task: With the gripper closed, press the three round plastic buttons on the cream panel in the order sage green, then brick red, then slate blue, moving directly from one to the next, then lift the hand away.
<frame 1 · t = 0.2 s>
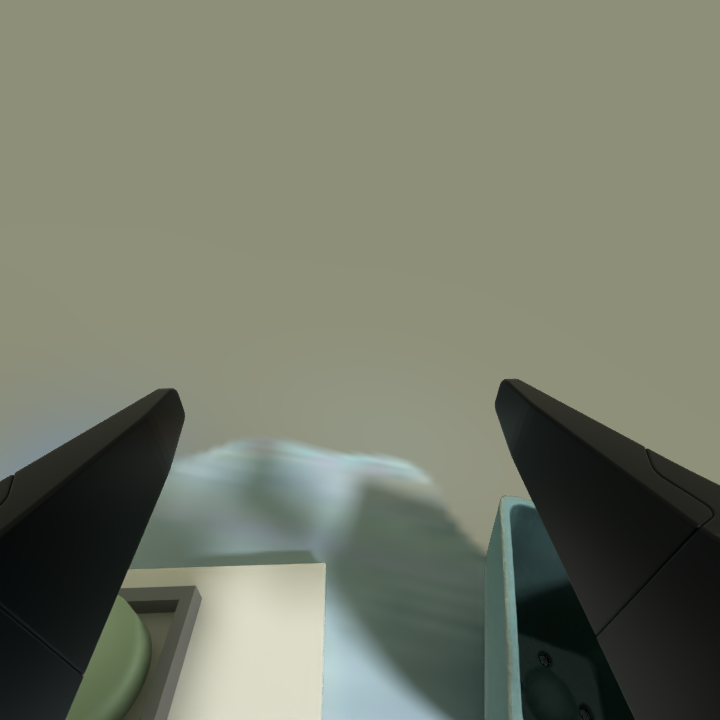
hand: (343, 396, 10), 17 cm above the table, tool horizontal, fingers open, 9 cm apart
sage button: (76, 670, 14), point 4 cm above the table, slide at 0.0 cm
flower pot: (544, 700, 17), on the table
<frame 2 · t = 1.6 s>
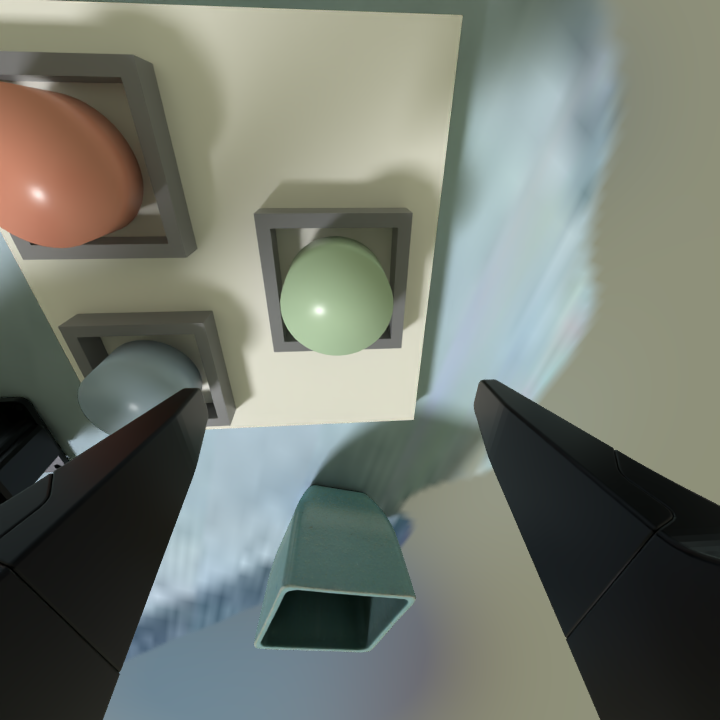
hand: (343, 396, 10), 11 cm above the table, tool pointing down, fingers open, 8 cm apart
sage button: (337, 296, 16), point 4 cm above the table, slide at 0.0 cm
flower pot: (331, 502, 30), on the table
brick button: (54, 171, 12), point 4 cm above the table, slide at 0.0 cm
slate button: (145, 392, 18), point 4 cm above the table, slide at 0.0 cm
button panel: (243, 271, 19), on the table
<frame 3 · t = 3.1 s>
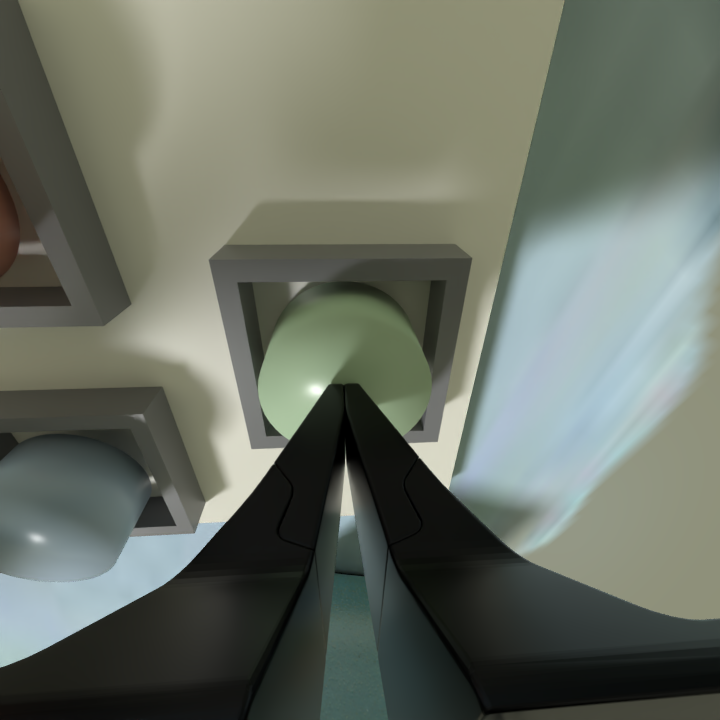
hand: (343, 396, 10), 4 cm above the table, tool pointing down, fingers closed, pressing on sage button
sage button: (345, 369, 11), point 3 cm above the table, slide at 0.9 cm, touching gripper
flower pot: (333, 585, 25), on the table
slate button: (61, 509, 12), point 4 cm above the table, slide at 0.0 cm
button panel: (210, 327, 13), on the table
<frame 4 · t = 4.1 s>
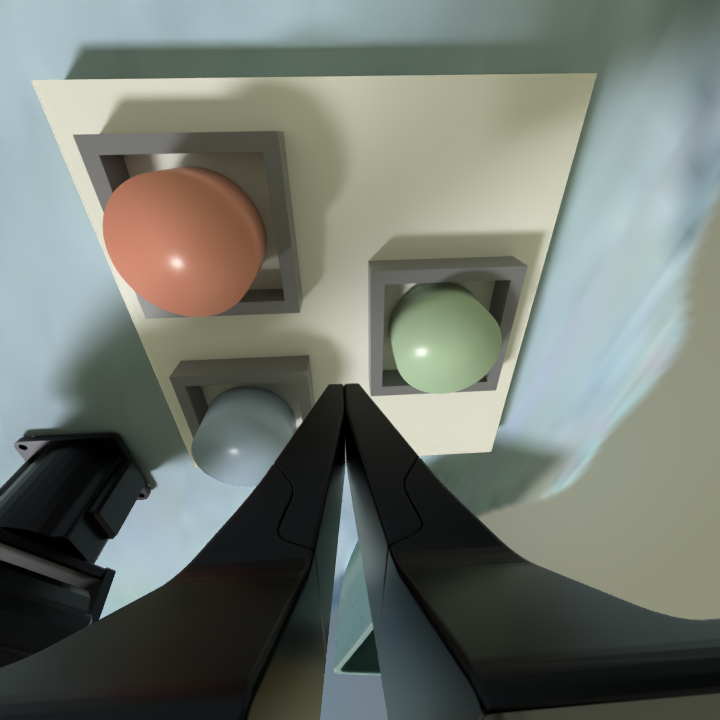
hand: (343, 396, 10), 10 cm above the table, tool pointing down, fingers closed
sage button: (441, 338, 16), point 3 cm above the table, slide at 0.9 cm
flower pot: (394, 525, 31), on the table
brick button: (194, 243, 13), point 4 cm above the table, slide at 0.0 cm
slate button: (247, 437, 18), point 4 cm above the table, slide at 0.0 cm
button panel: (337, 315, 19), on the table
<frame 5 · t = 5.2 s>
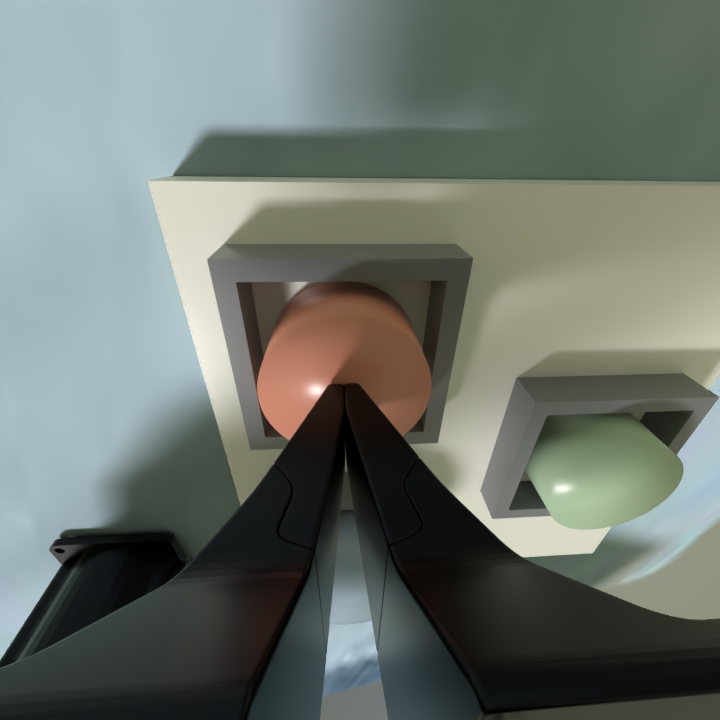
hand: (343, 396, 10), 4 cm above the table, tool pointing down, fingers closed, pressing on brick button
sage button: (593, 466, 14), point 3 cm above the table, slide at 0.9 cm
brick button: (344, 369, 10), point 3 cm above the table, slide at 0.9 cm, touching gripper
slate button: (347, 567, 15), point 4 cm above the table, slide at 0.0 cm
button panel: (450, 418, 16), on the table
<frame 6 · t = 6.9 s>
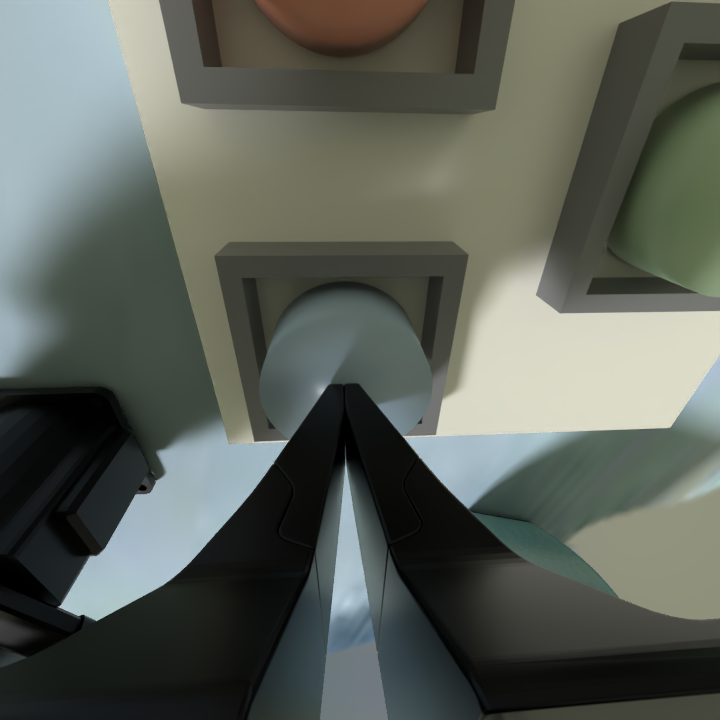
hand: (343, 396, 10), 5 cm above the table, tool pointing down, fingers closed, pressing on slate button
flower pot: (481, 533, 23), on the table
slate button: (345, 370, 11), point 3 cm above the table, slide at 0.5 cm, touching gripper
button panel: (495, 179, 11), on the table
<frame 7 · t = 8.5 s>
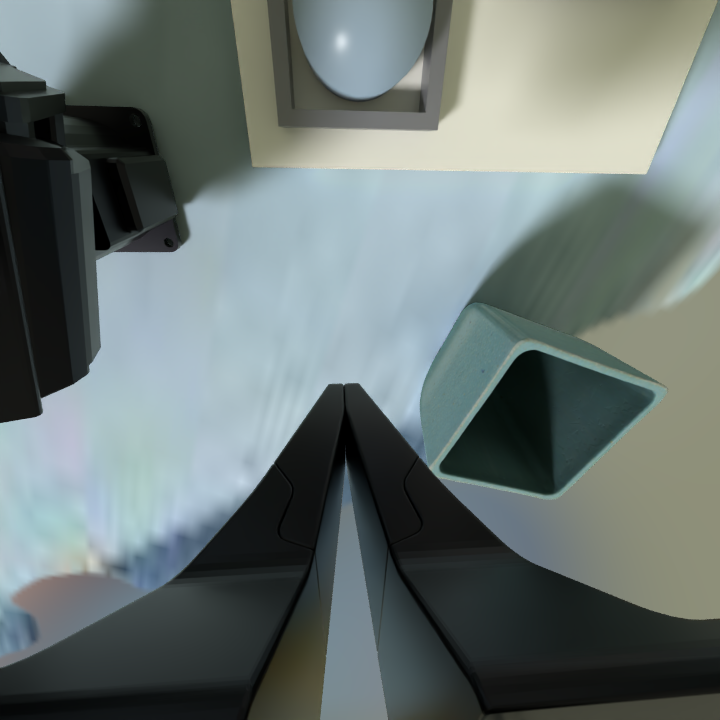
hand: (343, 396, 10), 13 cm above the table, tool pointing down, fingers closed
flower pot: (477, 344, 25), on the table
slate button: (360, 17, 13), point 3 cm above the table, slide at 0.9 cm
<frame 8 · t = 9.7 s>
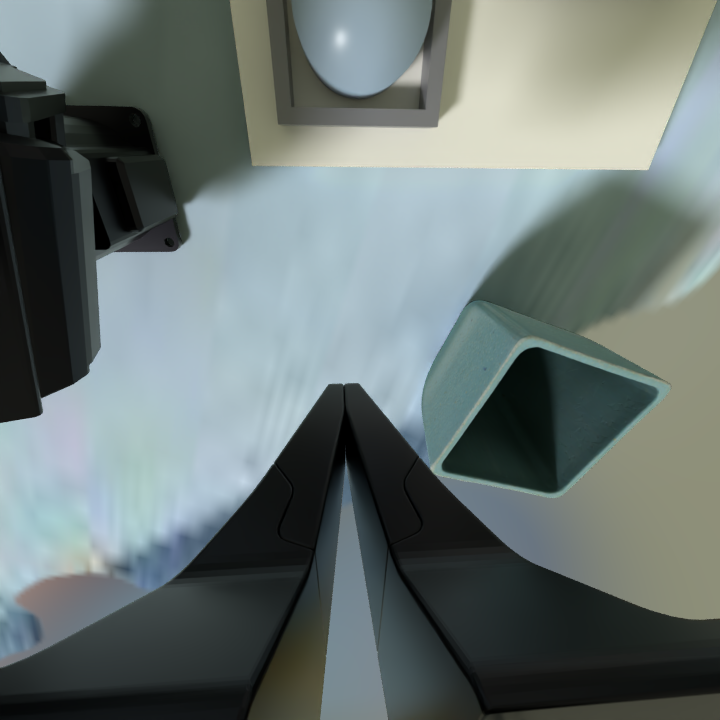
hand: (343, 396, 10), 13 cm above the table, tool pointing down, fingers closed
flower pot: (479, 342, 24), on the table
slate button: (360, 14, 13), point 3 cm above the table, slide at 0.9 cm
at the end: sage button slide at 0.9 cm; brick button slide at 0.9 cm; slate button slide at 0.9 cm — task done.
